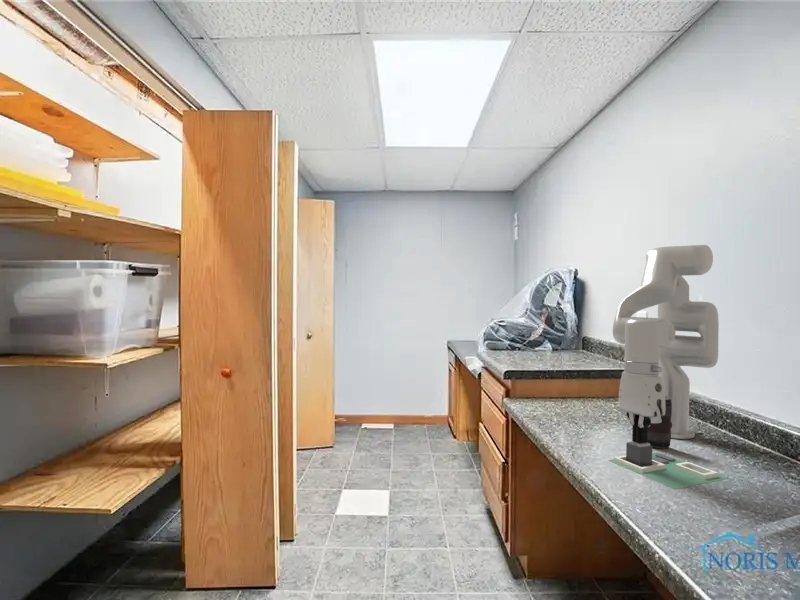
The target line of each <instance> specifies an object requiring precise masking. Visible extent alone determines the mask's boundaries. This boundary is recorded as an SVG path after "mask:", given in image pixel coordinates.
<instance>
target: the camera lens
mask: <svg viewBox="0 0 800 600" xmlns="http://www.w3.org/2000/svg"><path fill="white" fill-rule="evenodd" d="M665 406H666V410H665V415H664V416H661V420H662V422H661V423H652V424H651V425H650V427H648V433H647V443H650V445H651V446H652V449H657V450H665V449H666V450H667V449H669V448H670V446H671V442H672V440H671V439H672V438H671V428H672V422H671V414H672V403H671V398H669V397H666V396H665Z"/></svg>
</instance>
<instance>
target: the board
mask: <svg viewBox="0 0 800 600" xmlns="http://www.w3.org/2000/svg"><path fill="white" fill-rule="evenodd" d="M607 461H609V462H610V463H613V464H615V465H618V466H620V467H622V468H623V469H624V468H625V469H626V470H629V471H631V472H634V473H635V474H638V475H641V476H643V477H645V478H647V479H650V480H653V481H655V482H657V483H659V484H661V485H663V486H666V487H669V488H671V489H672V490H678V489H679V490H680V489H683V488H690V487H693V486H698V485H703V484H709V483H714V482H718V481H723V480H729V479H730V478H729V477H727V476H725V475H721V474H719V472H717V471H714V470H711V469H709V468H706V467H703V466H701V465H698V464H695V463H692V462H689V461H682V460H680V459H677V458H674V457H671V456H669V455H666V454H663V453H660V452H652V465H651V466H645V467H640V466H637V465H635V464H633V463H630V462H628V461H626V454H625V455H621V456H614V457H613V459H608V460H607Z"/></svg>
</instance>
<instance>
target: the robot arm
mask: <svg viewBox="0 0 800 600" xmlns="http://www.w3.org/2000/svg"><path fill="white" fill-rule="evenodd" d="M645 262H646V263H645V267H644V271H643V275H642V280H641V284H640V286H639V287H637V288H636V289H635V290H633V291H632V292H630V293H629V294H628V295H627V296H626V297H624V298H623V300H622V301H620V303H619V304H618V306H617V309H616V312H615V316H614V319H613V320H614V321H613V324H612V336H613V339H614V341H616V342H617V343H618V344H620V345H621V344H622V345H624V354H623V355H624V358H623V359H624V361H623V362H624V363H623V365H624V366H623V371H622V372H621V377H620V381H619V388H618V389H619V391H618V405H619V408H620V411H619V412H620V413H621V414H622V415H624V416H626V417H627V419H628V420H629V424H630V425H631V428H632V433H631V434H632V435H631V437H632V438H631V440H632V441H631V442H636V443H646V442H647V433H648V427H650V425H651V424H652V423H661V422H662V420H661V416H664V415H665V410H666V406H665V396H666V397H669V398H671V403H672V414H671V422H672V428H671V439H678V440H679V439H680V440H689V439H693V438H695V437H696V436H695V432H694V431H693V430H691V427H696V426H698V421H697V420H695V419H690V386H691V384H690V383H691V382H690V379H689V376H688V375H687V374H686V372H685V371H684V370H683V368H682V367H692V368H705V369H710V368H714V367H716V365H717V363H718V360H719V331H720V330H719V311H718V308H717V306H716V305H715V304H713V303H712V302H709V301H691V300H690V285H689V283H688V282H687V280H686V279H685V278H684V277H683V276H702V275H705V274H707V273H708V272H709V271H710V270H711V268H712V266H713V262H714V255H713V251H712V249H711V248H710V246H709V245H707V244H696V245H695V244H694V245H693V244H691V245H675V246H674V245H673V246H672V245H671V246H662V247H661V246H660V247H654V248H651V249H650V250H648V251H647V253H646V255H645ZM654 306H657V317H644V316H643V317H642V316H641V317H640V316H633V315H635V314H636V313H637V312H640V311H641V310H645V309H648V308H651V307H654ZM676 332H689V333H690V332H691V333H698V334H699V335H700V336H696V335H693V336H692V335H683V334H681V335H680V334H676Z"/></svg>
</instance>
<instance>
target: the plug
mask: <svg viewBox="0 0 800 600" xmlns="http://www.w3.org/2000/svg"><path fill="white" fill-rule="evenodd" d="M625 445H626V446H625V447H626V452H625V453H626V454H625V455H626V461H628V462H630V463H633V464H635V465H637V466H640V467H645V466H651V465H652V453H653V448H652V446H651V445H650V443H647V442H646V443H636V442H633V441H630V442H629V441H628V442H626V444H625Z"/></svg>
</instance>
